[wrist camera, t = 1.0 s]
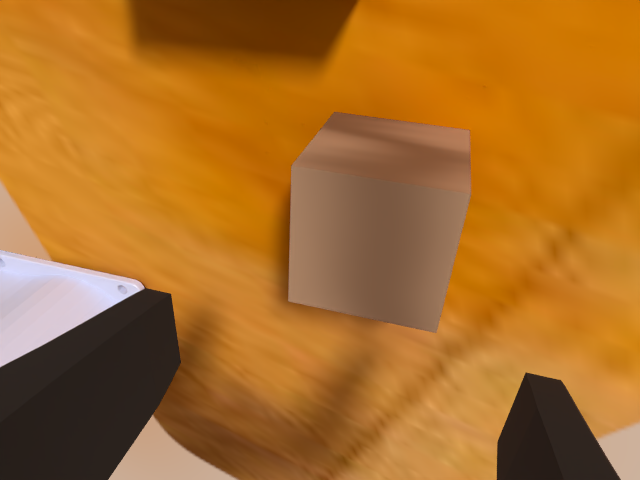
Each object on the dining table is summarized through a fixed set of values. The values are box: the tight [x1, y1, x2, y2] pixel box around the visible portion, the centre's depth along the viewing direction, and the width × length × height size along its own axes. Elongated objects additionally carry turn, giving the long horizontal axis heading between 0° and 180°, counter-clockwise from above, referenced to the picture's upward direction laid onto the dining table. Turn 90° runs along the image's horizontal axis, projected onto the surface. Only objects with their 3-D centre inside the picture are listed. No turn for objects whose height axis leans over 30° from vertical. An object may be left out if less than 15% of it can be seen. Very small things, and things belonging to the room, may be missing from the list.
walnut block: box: [288, 112, 471, 333], centre depth 15 cm, size 5×5×5 cm
